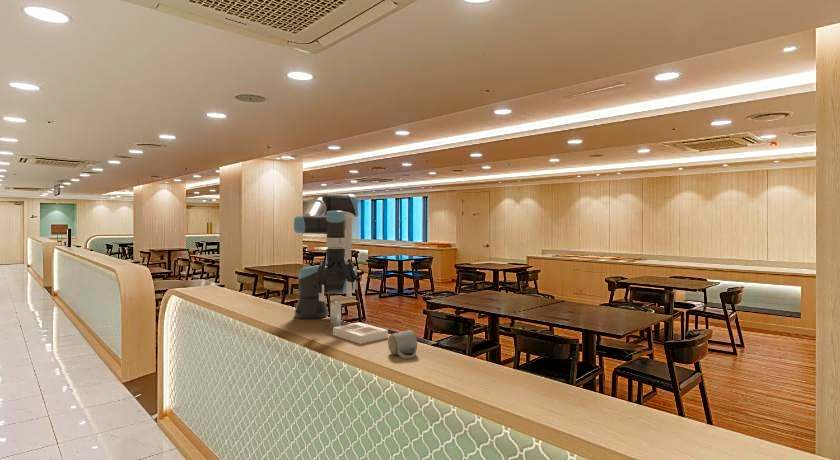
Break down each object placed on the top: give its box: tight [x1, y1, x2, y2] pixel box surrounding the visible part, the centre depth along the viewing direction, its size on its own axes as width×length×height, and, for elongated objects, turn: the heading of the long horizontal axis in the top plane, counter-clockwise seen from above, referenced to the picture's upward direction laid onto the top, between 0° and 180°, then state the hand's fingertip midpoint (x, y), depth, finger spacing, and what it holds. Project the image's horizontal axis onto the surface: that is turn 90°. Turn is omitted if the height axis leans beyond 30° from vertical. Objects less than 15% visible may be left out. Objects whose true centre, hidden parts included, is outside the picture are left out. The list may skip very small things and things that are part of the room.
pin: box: [329, 300, 342, 330], centre depth 192 cm, size 4×4×11 cm
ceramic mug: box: [387, 329, 418, 360], centre depth 155 cm, size 11×8×8 cm
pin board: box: [332, 322, 389, 345], centre depth 179 cm, size 18×13×3 cm
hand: (335, 299), depth 191 cm, fingers open, 13 cm apart
